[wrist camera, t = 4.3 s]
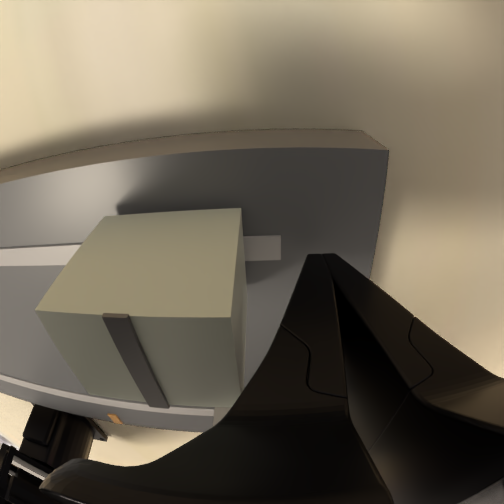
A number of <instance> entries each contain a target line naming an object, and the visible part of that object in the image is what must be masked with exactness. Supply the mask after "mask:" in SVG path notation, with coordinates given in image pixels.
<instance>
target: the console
mask: <svg viewBox="0 0 504 504" xmlns="http://www.w3.org/2000/svg"><path fill="white" fill-rule="evenodd" d="M388 157H389V150H388V149H387V148H386V147H384V146H383V145H381V144H380V143H379V142H377V141H376V140H374V139H373V138H372V137H370V136H369V135H367V134H366V133H364V132H363V131H356V130H331V129H266V130H240V131H223V132H209V133H197V134H187V135H177V136H168V137H159V138H152V139H144V140H137V141H130V142H124V143H117V144H111V145H106V146H100V147H94V148H89V149H84V150H79V151H74V152H69V153H65V154H60V155H56V156H51V157H47V158H43V159H39V160H35V161H31V162H27V163H23V164H20V165H16V166H12V167H9V168H5V169H2V170H0V392H1V393H4V394H7V395H10V396H13V397H16V398H19V399H22V400H25V401H28V402H31V403H34V404H38V405H41V406H45V407H48V408H52V409H56V410H60V411H64V412H68V413H72V414H76V415H80V416H85V417H90V418H94V419H99V420H105V421H110V422H114V423H117V424H128V425H134V426H141V427H149V428H157V429H166V430H176V431H188V432H205V431H207V430H209V429H210V428H212V427H213V419H214V409H215V407H199V406H182V405H170V407H169V409H163V408H153V407H149V405H148V404H147V402H139V401H130V400H123V399H116V398H109V397H103V396H97V395H91V394H89V393H88V392H87V391H86V389H85V388H84V387H83V385H82V384H81V382H80V381H79V380H78V378H77V377H76V375H75V374H74V373H73V371H72V370H71V368H70V367H69V365H68V364H67V362H66V361H65V359H64V358H63V356H62V355H61V353H60V352H59V350H58V349H57V347H56V345H55V344H54V342H53V341H52V339H51V337H50V336H49V334H48V332H47V331H46V329H45V327H44V326H43V324H42V322H41V321H40V319H39V317H38V315H37V313H36V312H35V309H36V307H37V306H38V304H39V303H40V301H41V300H42V298H43V297H44V295H45V294H46V292H47V291H48V289H49V288H50V287H51V285H52V284H53V282H54V281H55V279H56V278H57V277H58V275H59V274H60V272H61V271H62V270H63V268H64V267H65V266H66V264H67V263H68V262H69V260H70V259H71V258H72V256H73V255H74V254H75V252H76V251H77V250H78V248H79V247H80V246H81V245H82V243H83V242H84V241H85V240H86V238H87V237H88V236H89V235H90V233H91V232H92V231H93V230H94V228H95V227H96V226H97V225H98V223H99V222H100V221H101V220H102V219H103V217H104V216H115V215H128V214H141V213H156V212H171V211H188V210H207V209H229V208H241V212H242V227H243V241H244V255H245V270H246V284H247V317H246V344H245V370H244V388H245V387H246V385H247V384H248V382H249V381H250V379H251V378H252V376H253V375H254V373H255V372H256V370H257V369H258V367H259V366H260V364H261V362H262V361H263V359H264V357H265V356H266V354H267V352H268V350H269V348H270V346H271V344H272V342H273V339H274V337H275V335H276V332H277V330H278V328H279V326H280V323H281V321H282V318H283V316H284V313H285V311H286V308H287V306H288V303H289V300H290V298H291V295H292V293H293V290H294V288H295V285H296V282H297V280H298V277H299V275H300V272H301V269H302V267H303V264H304V261H305V259H306V256H307V254H318V253H320V254H323V253H336V254H337V255H338V256H340V257H341V258H342V259H344V260H345V261H346V262H348V263H349V264H350V265H351V266H353V267H354V268H355V269H357V270H358V271H359V272H360V273H362V274H363V275H364V276H366V277H367V278H368V279H369V278H370V273H371V269H372V264H373V258H374V253H375V248H376V242H377V237H378V231H379V225H380V219H381V212H382V205H383V198H384V191H385V183H386V175H387V166H388Z"/></svg>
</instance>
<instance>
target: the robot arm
mask: <svg viewBox="0 0 504 504" xmlns="http://www.w3.org/2000/svg"><path fill="white" fill-rule="evenodd" d="M32 404H33V406H34V407H33V409H32V412H31V414H30V417H29V419H28V422H27V424H26V427H25V429H24V432H23V437H24V438H23V441H22V444H21V446H20V449H19V451H18V450H16V448H15V447H13V446H8V445H6V444H4V443H3V444H2V447H1V449H0V504H504V378H501V377H498V376H496V375H494V374H492V373H491V372H489V371H488V370H486V369H485V368H483V367H482V366H481V365H479V364H478V363H477V362H475V361H474V360H472V359H471V358H470V357H468V356H467V355H465V354H464V353H462V352H461V351H460V350H458V349H457V348H455V347H454V346H453V345H451V344H450V343H449V342H447V341H446V340H444V339H443V338H442V337H440V336H439V335H438V334H436V333H435V332H434V331H433V330H431V329H430V328H429V327H428V326H426V325H425V324H424V323H423V322H422V321H420V320H419V319H418V318H417V317H414V315H413V314H412V313H410V312H409V311H408V310H407V309H406V308H404V307H403V306H402V305H401V304H399V303H398V302H397V301H396V300H395V299H393V298H392V297H391V296H390V295H388V294H387V293H386V292H385V291H383V290H382V289H381V288H380V287H378V286H377V285H376V284H374V283H373V282H372V281H371V280H369V279H368V278H367V277H366V276H364V275H363V274H362V273H360V272H359V271H358V270H357V269H355V268H354V267H353V266H351V265H350V264H349V263H348V262H346V261H345V260H344V259H342V258H341V257H340V256H338V255H337V254H336V253H323V254H320V253H318V254H307V256H306V259H305V261H304V264H303V267H302V269H301V272H300V275H299V277H298V280H297V282H296V285H295V288H294V290H293V293H292V295H291V298H290V300H289V303H288V306H287V308H286V311H285V313H284V316H283V318H282V321H281V323H280V326H279V328H278V330H277V332H276V335H275V337H274V339H273V342H272V344H271V346H270V348H269V350H268V352H267V354H266V356H265V357H264V359H263V361H262V362H261V364H260V366H259V367H258V369H257V370H256V372H255V373H254V375H253V376H252V378H251V379H250V381H249V382H248V384H247V385H246V387H245V388H244V390H243V391H242V393H241V394H240V396H239V397H238V399H237V400H236V402H235V403H234V405H233V406H232V407H231V409H230V410H229V411H228V412H227V414H226V415H225V416H224V417H223V418H222V419H221V420H220V421H219V422H218V423H217V424H216V425H215V426H213V427H212V428H210V429H209V430H207V431H205V432H204V433H202V434H201V435H199V436H197V437H196V438H194V439H192V440H191V441H189V442H187V443H186V444H184V445H182V446H181V447H179V448H177V449H175V450H174V451H172V452H170V453H168V454H167V455H165V456H163V457H161V458H159V459H158V460H155V461H153V462H150V463H148V464H143V465H139V466H128V467H124V466H115V465H110V464H106V463H102V462H98V461H93V460H89V459H88V457H89V453H90V450H91V446H92V442H93V439H96V440H101V441H107V439H108V437H107V436H106V435H105V434H104V433H103V432H102V431H101V430H100V428H99V427H98V426H97V425H96V424H95V423H94V422H93V421H92V420H91V419H90V417H85V416H80V415H76V414H72V413H68V412H64V411H60V410H56V409H52V408H48V407H45V406H41V405H38V404H34V403H32ZM12 460H14V461H15V462H17V463H19V464H21V465H22V466H24V467H26V468H28V469H30V470H31V471H33V472H35V473H37V474H39V475H41V476H43V477H45V480H44V481H43V480H41V479H40V478H37V477H36V476H34V475H32V474H30V473H28V472H26V471H24V470H23V469H21V468H19V467H16V466H15V465H13V464H11V463H12ZM8 473H9V474H11V475H13V476H11V475H9V474H8Z"/></svg>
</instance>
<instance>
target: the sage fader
mask: <svg viewBox="0 0 504 504" xmlns="http://www.w3.org/2000/svg"><path fill="white" fill-rule="evenodd" d="M35 312H36V313H37V315H38V317H39V319H40V321H41V322H42V324H43V326H44V327H45V329H46V331H47V332H48V334H49V336H50V337H51V339H52V341H53V342H54V344H55V345H56V347H57V349H58V350H59V352H60V353H61V355H62V356H63V358H64V359H65V361H66V362H67V364H68V365H69V367H70V368H71V370H72V371H73V373H74V374H75V375H76V377H77V378H78V380H79V381H80V382H81V384H82V385H83V387H84V388H85V389H86V391H87V392H88V393H89V394H91V395H97V396H103V397H109V398H116V399H123V400H130V401H139V402H147V404H148V405H149V407H153V408H163V409H169V407H170V405H182V406H199V407H229V408H231V407H232V406H233V405H234V403H235V402H236V400H237V399H238V397H239V396H240V394H241V393H242V391H243V390H244V370H245V344H246V317H247V284H246V270H245V255H244V241H243V227H242V212H241V208H229V209H207V210H188V211H171V212H156V213H141V214H128V215H115V216H104V217H103V219H102V220H101V221H100V222H99V223H98V225H97V226H96V227H95V228H94V230H93V231H92V232H91V233H90V235H89V236H88V237H87V238H86V240H85V241H84V242H83V243H82V245H81V246H80V247H79V248H78V250H77V251H76V252H75V254H74V255H73V256H72V258H71V259H70V260H69V262H68V263H67V264H66V266H65V267H64V268H63V270H62V271H61V272H60V274H59V275H58V277H57V278H56V279H55V281H54V282H53V284H52V285H51V287H50V288H49V289H48V291H47V292H46V294H45V295H44V297H43V298H42V300H41V301H40V303H39V304H38V306H37V307H36V309H35Z"/></svg>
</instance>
